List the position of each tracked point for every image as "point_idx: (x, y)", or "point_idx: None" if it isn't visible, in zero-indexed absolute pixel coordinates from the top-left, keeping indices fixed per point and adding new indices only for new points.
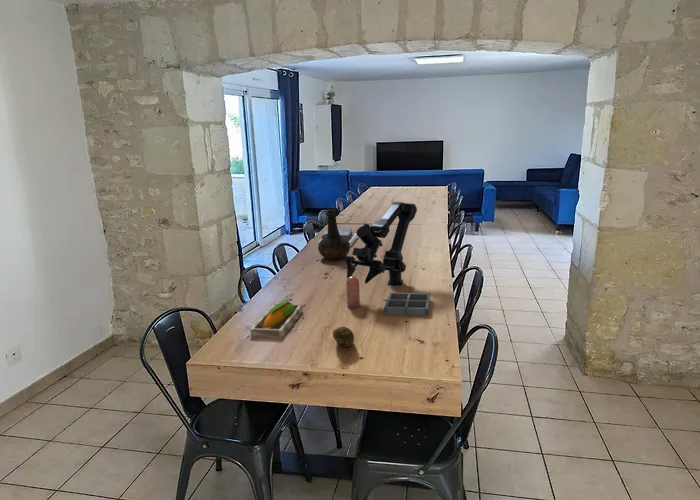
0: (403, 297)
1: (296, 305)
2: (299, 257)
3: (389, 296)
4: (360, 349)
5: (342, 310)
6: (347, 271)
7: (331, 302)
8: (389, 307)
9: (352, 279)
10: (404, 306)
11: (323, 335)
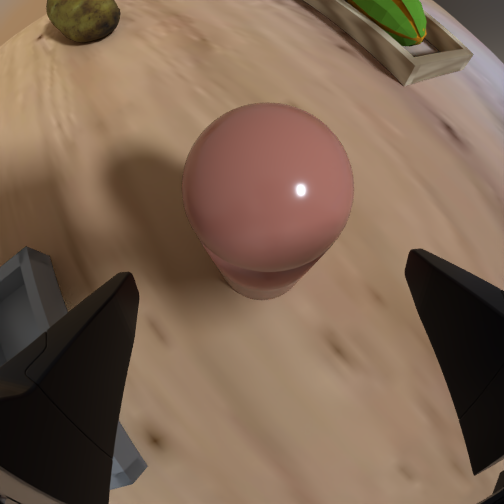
0: None
1: (420, 56)
2: None
3: None
4: (49, 47)
5: None
6: (496, 288)
7: (409, 226)
8: (9, 263)
9: (224, 117)
10: None
11: (174, 16)
